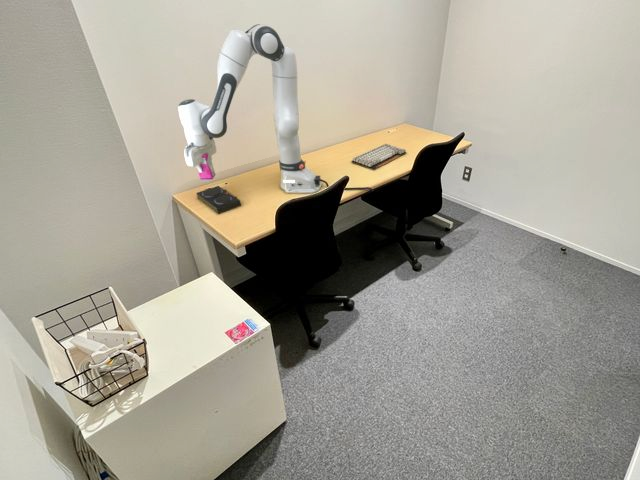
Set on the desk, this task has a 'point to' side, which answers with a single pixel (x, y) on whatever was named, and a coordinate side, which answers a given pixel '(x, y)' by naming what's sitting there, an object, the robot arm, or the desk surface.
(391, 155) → the mechanical keyboard
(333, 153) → the desk surface
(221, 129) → the robot arm
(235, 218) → the desk surface
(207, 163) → the supplement box
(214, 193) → the hot plate
